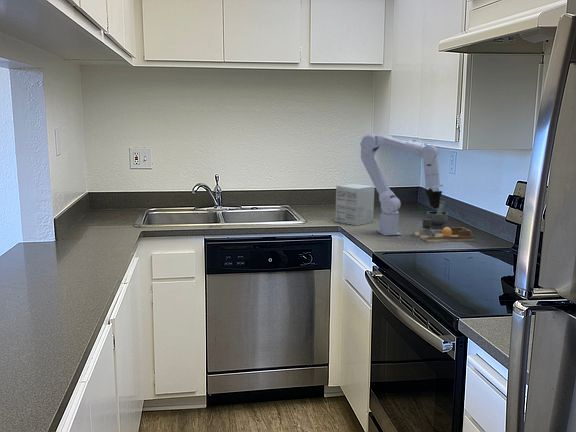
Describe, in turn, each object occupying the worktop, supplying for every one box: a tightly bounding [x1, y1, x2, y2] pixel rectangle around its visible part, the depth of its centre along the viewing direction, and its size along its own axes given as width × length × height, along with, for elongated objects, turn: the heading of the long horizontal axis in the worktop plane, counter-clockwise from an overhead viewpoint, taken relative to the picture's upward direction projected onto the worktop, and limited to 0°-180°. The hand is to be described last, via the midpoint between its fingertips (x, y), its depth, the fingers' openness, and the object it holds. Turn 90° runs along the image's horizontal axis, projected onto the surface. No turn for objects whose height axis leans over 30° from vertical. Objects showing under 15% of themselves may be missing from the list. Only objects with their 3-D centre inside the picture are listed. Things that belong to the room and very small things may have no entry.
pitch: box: [412, 226, 475, 243], centre depth 244 cm, size 16×20×4 cm
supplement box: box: [334, 183, 375, 226], centre depth 274 cm, size 13×13×18 cm
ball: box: [441, 226, 452, 236], centre depth 241 cm, size 4×4×4 cm
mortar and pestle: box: [426, 200, 449, 230], centre depth 265 cm, size 11×9×12 cm
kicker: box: [420, 218, 435, 237], centre depth 243 cm, size 9×3×6 cm, turn 10°
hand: (434, 207), depth 240 cm, fingers open, 7 cm apart
